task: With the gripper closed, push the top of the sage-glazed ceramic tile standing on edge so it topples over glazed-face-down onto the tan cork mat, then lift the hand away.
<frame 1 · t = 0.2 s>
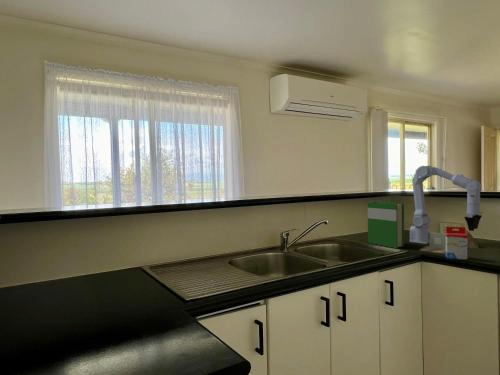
hand: (473, 229, 186), 10 cm above the countertop, tool pointing down, fingers open, 7 cm apart
rock: (466, 247, 189), on the countertop
ink box: (456, 258, 168), on the countertop
hardback book: (385, 245, 199), on the countertop
tile: (438, 248, 188), resting on mat
mat: (435, 250, 185), on the countertop
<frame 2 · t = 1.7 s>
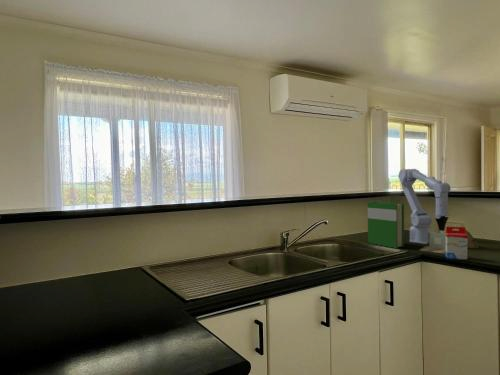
hand: (441, 230, 191), 9 cm above the countertop, tool pointing down, fingers closed
nothing on the countertop moved.
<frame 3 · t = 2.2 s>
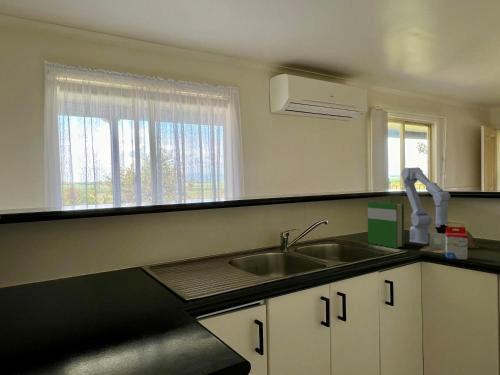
hand: (441, 238, 192), 4 cm above the countertop, tool pointing down, fingers closed
nothing on the countertop moved.
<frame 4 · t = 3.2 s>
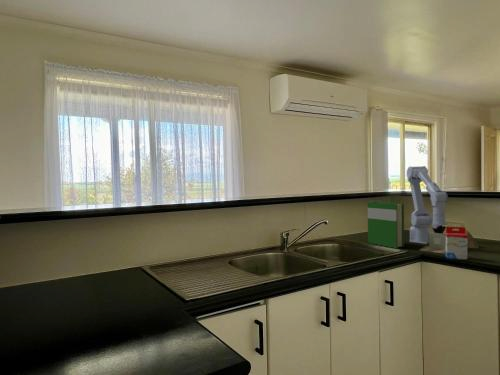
hand: (438, 240, 188), 4 cm above the countertop, tool pointing down, fingers closed
tile: (438, 248, 188), resting on mat, tilted 9°, touching gripper
everything else where it was.
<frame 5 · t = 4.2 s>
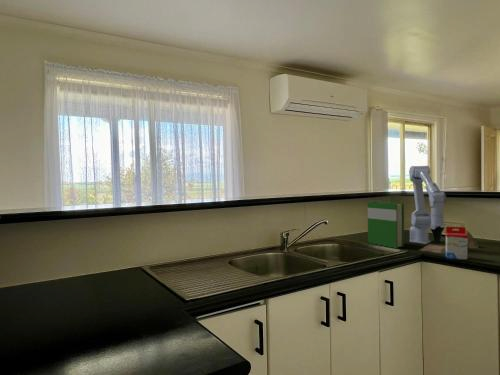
hand: (437, 241, 186), 4 cm above the countertop, tool pointing down, fingers closed
tile: (437, 246, 187), point 1 cm above the countertop, tilted 90°, touching mat
everything else where it was.
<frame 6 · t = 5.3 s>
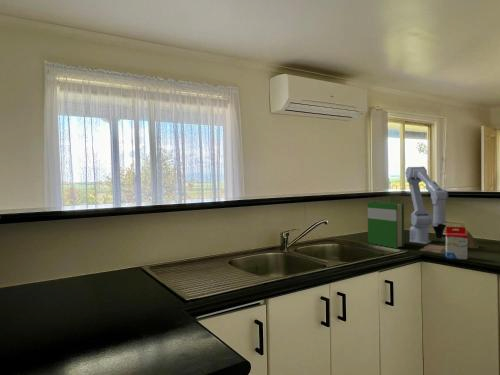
hand: (439, 238, 189), 5 cm above the countertop, tool pointing down, fingers closed
nothing on the countertop moved.
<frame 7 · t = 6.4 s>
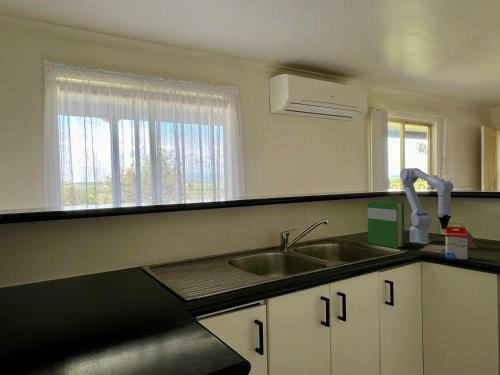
hand: (444, 229, 190), 10 cm above the countertop, tool pointing down, fingers closed
nothing on the countertop moved.
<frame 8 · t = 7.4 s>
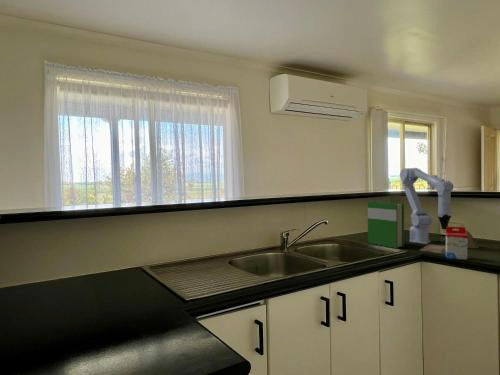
hand: (444, 229, 190), 10 cm above the countertop, tool pointing down, fingers closed
nothing on the countertop moved.
at the end: tile tilted 90°; tile inside the target area (4.3 cm from its centre), point 1.2 cm above the countertop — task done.
